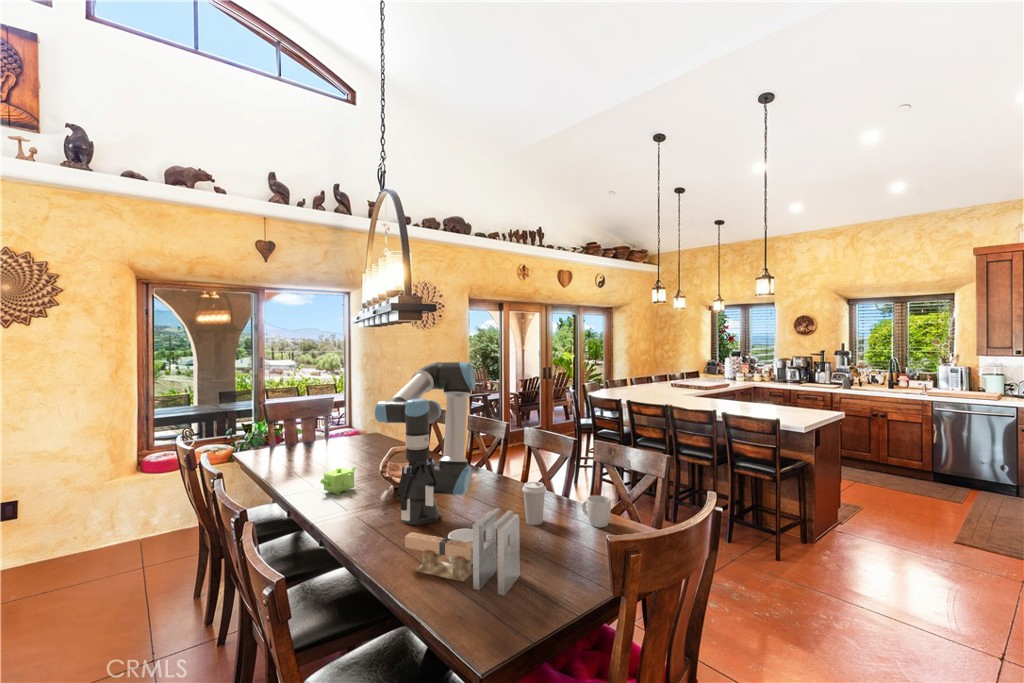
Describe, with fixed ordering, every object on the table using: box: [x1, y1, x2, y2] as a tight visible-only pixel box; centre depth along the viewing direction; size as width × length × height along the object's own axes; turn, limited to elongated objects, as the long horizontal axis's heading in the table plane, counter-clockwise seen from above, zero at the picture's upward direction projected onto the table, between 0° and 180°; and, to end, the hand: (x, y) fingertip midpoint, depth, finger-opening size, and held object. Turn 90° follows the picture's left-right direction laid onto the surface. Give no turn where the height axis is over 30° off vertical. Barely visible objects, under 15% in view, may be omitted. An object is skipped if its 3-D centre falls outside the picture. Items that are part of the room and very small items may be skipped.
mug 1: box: [447, 528, 473, 565], centre depth 157 cm, size 13×10×8 cm
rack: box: [416, 551, 473, 582], centre depth 148 cm, size 17×7×6 cm, turn 67°
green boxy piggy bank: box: [320, 465, 358, 496], centre depth 226 cm, size 15×14×11 cm
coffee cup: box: [521, 481, 547, 526], centre depth 187 cm, size 10×10×15 cm
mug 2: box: [581, 495, 612, 529], centre depth 185 cm, size 13×9×10 cm
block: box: [404, 531, 473, 560], centre depth 149 cm, size 24×4×4 cm, turn 67°
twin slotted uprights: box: [472, 507, 521, 596], centre depth 141 cm, size 10×12×20 cm
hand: (418, 512), depth 152 cm, fingers open, 13 cm apart
